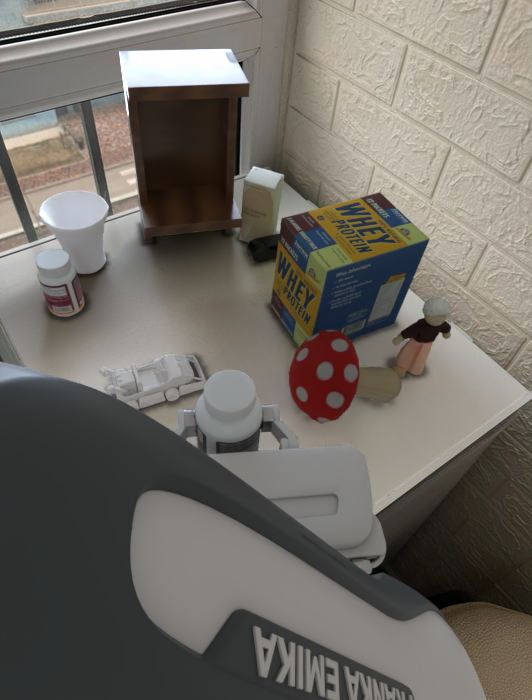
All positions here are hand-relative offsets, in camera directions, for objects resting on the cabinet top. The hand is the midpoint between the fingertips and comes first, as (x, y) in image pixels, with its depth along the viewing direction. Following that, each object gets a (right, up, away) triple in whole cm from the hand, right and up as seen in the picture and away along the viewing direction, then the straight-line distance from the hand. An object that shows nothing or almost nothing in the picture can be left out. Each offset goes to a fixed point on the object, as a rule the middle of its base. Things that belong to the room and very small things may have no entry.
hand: (227, 410), depth 42 cm
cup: (-23, +18, +33) cm, 44 cm away
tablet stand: (+9, +21, +40) cm, 46 cm away
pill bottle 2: (0, -4, +4) cm, 6 cm away
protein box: (+13, +10, +31) cm, 35 cm away
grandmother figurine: (+22, +3, +26) cm, 34 cm away
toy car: (-10, +1, +21) cm, 23 cm away
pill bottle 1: (-24, +11, +28) cm, 39 cm away
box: (+2, +23, +41) cm, 47 cm away
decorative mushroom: (+12, -1, +22) cm, 25 cm away
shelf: (-9, +23, +39) cm, 46 cm away
